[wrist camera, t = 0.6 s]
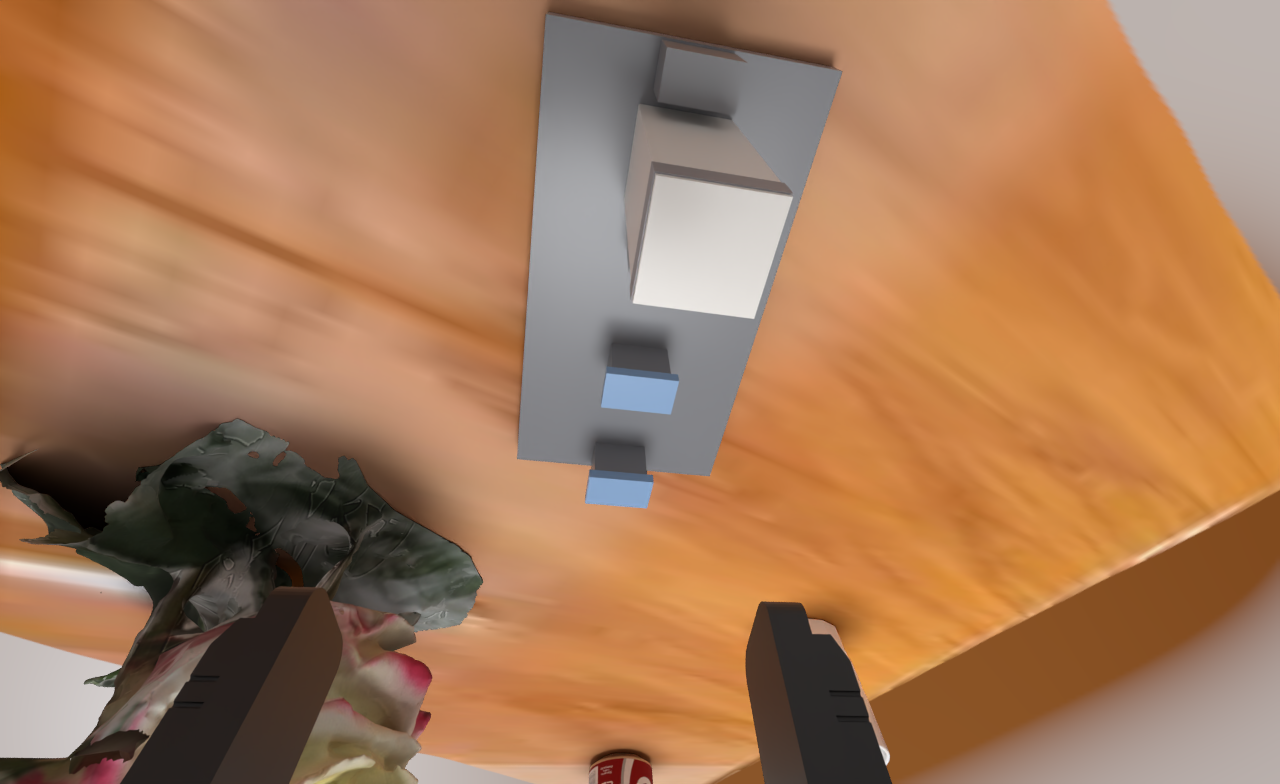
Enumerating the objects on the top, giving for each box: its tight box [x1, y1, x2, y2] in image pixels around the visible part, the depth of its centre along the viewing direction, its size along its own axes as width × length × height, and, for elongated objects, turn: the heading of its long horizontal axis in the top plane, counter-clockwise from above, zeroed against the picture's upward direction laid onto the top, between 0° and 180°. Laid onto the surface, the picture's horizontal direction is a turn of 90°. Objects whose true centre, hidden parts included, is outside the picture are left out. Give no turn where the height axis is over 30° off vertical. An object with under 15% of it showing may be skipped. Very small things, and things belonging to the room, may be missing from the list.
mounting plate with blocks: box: [517, 12, 842, 508], centre depth 29 cm, size 23×12×4 cm, turn 170°
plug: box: [624, 104, 793, 319], centre depth 22 cm, size 4×4×10 cm
